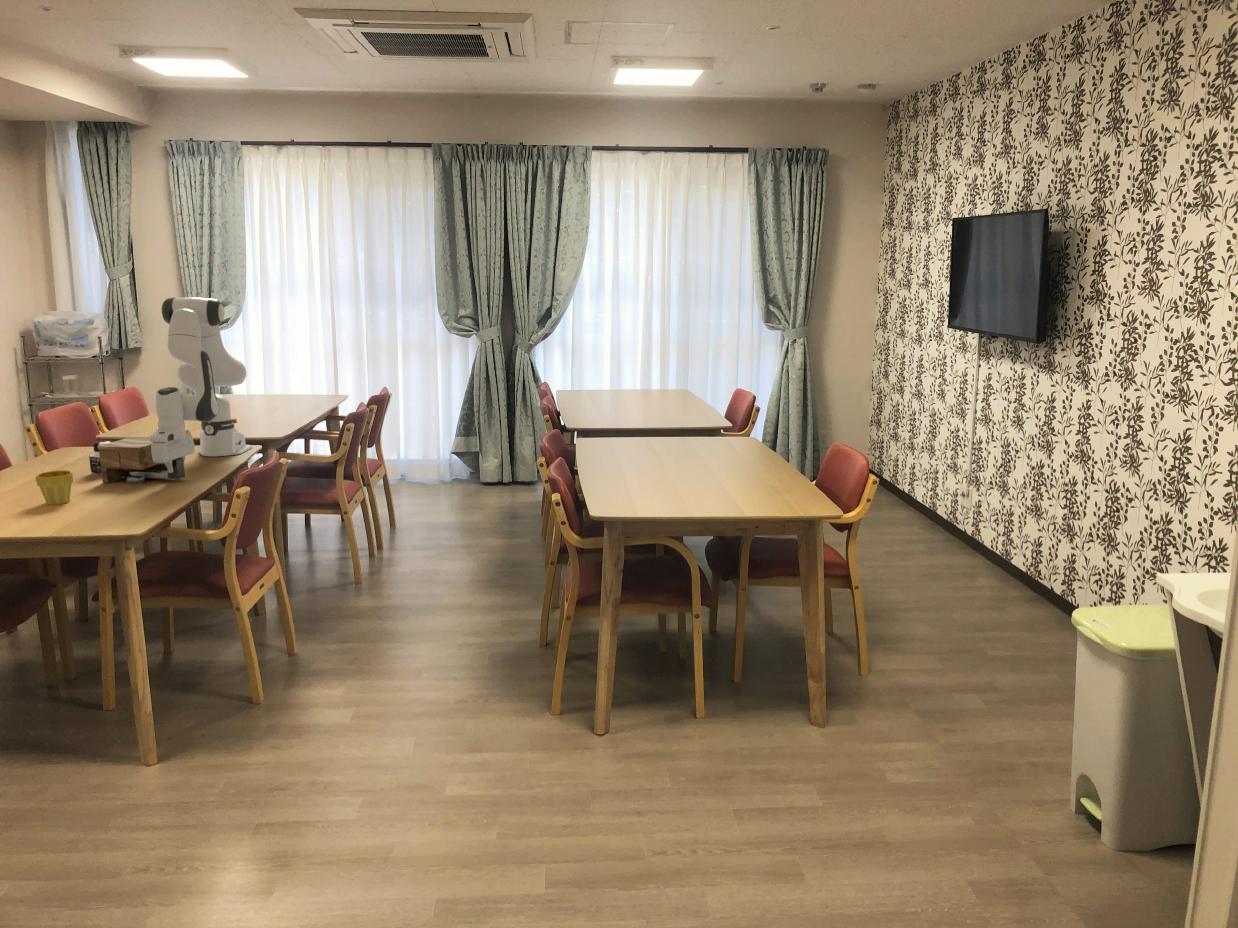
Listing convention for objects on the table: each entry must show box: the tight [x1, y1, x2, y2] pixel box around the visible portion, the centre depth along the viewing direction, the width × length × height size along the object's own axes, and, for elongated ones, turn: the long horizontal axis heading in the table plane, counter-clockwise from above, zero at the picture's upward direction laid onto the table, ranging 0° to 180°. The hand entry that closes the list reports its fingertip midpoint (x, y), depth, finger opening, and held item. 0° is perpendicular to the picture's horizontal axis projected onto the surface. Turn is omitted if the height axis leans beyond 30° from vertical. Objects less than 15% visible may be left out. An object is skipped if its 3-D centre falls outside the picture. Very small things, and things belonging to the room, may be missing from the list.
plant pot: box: [35, 469, 74, 506], centre depth 300 cm, size 10×10×10 cm
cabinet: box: [97, 437, 167, 484], centre depth 333 cm, size 17×16×14 cm
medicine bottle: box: [88, 440, 111, 476], centre depth 342 cm, size 7×7×12 cm
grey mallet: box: [130, 458, 186, 480], centre depth 332 cm, size 4×20×7 cm, turn 80°
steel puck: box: [125, 474, 146, 485], centre depth 329 cm, size 6×6×2 cm
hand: (176, 470), depth 331 cm, fingers closed on grey mallet, 4 cm apart
